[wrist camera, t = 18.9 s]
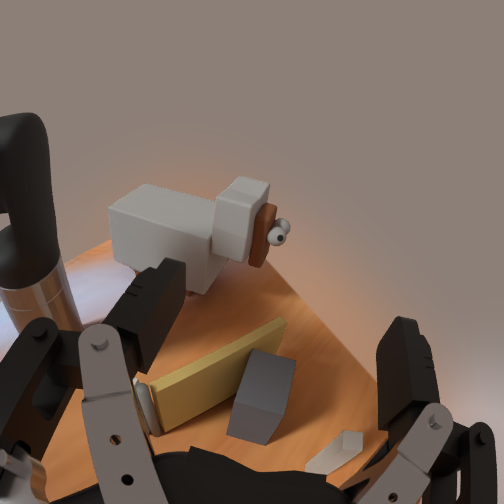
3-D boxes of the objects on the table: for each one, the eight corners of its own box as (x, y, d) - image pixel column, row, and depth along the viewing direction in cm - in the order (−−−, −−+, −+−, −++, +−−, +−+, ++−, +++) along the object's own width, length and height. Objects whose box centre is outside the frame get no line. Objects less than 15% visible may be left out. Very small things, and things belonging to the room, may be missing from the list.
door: (165, 432, 31) (155, 392, 25) (153, 413, 33) (140, 369, 27) (269, 372, 41) (287, 322, 35) (255, 358, 43) (270, 306, 37)
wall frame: (113, 422, 31) (87, 374, 24) (120, 410, 33) (97, 359, 26) (319, 479, 29) (362, 451, 22) (321, 466, 30) (363, 432, 23)
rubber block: (226, 434, 33) (234, 401, 27) (241, 390, 39) (252, 348, 33) (265, 445, 32) (284, 415, 27) (277, 400, 38) (296, 360, 32)
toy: (259, 330, 48) (287, 220, 36) (115, 275, 53) (104, 171, 41) (276, 289, 57) (302, 189, 45) (147, 245, 61) (145, 151, 50)
